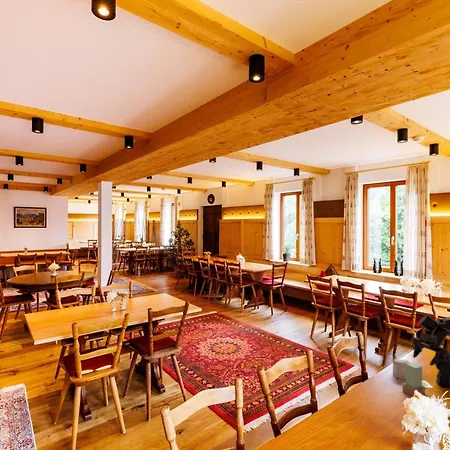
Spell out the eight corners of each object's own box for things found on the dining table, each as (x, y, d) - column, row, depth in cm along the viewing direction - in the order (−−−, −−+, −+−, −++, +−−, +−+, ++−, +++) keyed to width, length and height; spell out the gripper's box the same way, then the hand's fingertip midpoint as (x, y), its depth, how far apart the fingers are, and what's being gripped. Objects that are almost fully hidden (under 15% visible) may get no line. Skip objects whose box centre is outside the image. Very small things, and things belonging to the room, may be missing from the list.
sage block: (412, 381, 158) (412, 362, 158) (421, 386, 153) (422, 366, 153) (405, 383, 156) (405, 363, 156) (414, 388, 151) (415, 368, 151)
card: (425, 381, 166) (425, 380, 166) (433, 388, 159) (433, 387, 159) (411, 380, 167) (411, 379, 167) (418, 387, 160) (418, 386, 160)
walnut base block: (410, 388, 160) (410, 380, 160) (424, 394, 154) (425, 386, 154) (402, 391, 156) (402, 383, 156) (417, 398, 150) (417, 390, 150)
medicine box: (407, 375, 172) (407, 359, 172) (411, 379, 168) (411, 363, 168) (392, 374, 173) (392, 359, 173) (396, 378, 169) (396, 362, 169)
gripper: (413, 322, 170) (398, 344, 166) (448, 333, 152) (431, 359, 149) (424, 335, 173) (408, 357, 169) (459, 348, 155) (442, 373, 151)
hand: (421, 361), depth 160 cm, fingers open, 9 cm apart
